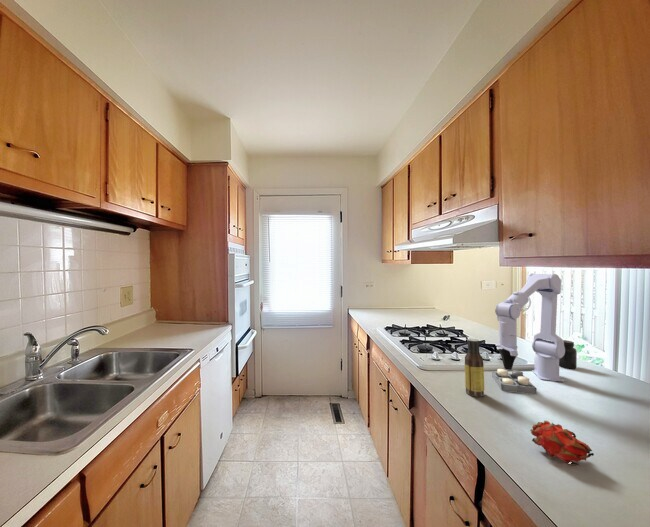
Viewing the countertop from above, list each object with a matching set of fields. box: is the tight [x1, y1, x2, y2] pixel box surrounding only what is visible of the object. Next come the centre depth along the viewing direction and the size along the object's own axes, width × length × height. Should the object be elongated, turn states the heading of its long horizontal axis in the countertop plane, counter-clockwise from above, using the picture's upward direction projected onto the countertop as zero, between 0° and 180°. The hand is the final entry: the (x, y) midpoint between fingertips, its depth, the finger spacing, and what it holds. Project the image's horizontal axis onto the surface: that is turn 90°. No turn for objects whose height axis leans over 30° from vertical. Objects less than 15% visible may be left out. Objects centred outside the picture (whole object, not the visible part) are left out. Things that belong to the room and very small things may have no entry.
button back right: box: [496, 368, 509, 377], centre depth 112 cm, size 4×4×2 cm
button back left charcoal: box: [511, 369, 524, 378], centre depth 111 cm, size 4×4×2 cm
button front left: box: [518, 376, 530, 385], centre depth 105 cm, size 4×4×2 cm
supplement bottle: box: [559, 339, 578, 370], centre depth 128 cm, size 7×7×12 cm
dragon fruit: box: [530, 420, 595, 466], centre depth 68 cm, size 8×8×12 cm
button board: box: [491, 371, 538, 395], centre depth 109 cm, size 13×11×2 cm
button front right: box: [502, 378, 513, 385], centre depth 106 cm, size 4×4×2 cm
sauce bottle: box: [464, 338, 485, 398], centre depth 102 cm, size 6×6×20 cm
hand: (507, 368), depth 106 cm, fingers closed
